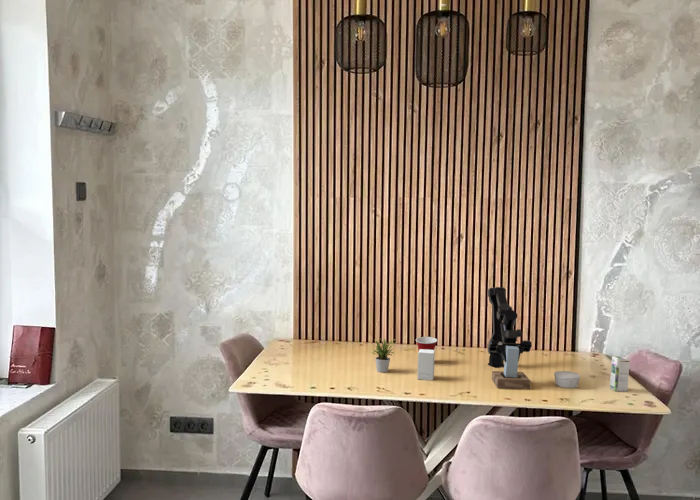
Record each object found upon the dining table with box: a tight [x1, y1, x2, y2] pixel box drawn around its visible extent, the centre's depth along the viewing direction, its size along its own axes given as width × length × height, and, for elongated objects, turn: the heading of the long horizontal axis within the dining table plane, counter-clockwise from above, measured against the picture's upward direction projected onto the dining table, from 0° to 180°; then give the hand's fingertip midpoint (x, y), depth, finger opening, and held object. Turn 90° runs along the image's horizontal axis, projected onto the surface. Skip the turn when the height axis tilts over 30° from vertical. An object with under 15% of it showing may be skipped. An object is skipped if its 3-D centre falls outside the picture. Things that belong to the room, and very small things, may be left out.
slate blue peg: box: [503, 346, 520, 378], centre depth 302 cm, size 5×5×13 cm
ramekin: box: [553, 370, 581, 389], centre depth 303 cm, size 11×11×5 cm
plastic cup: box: [415, 336, 438, 352], centre depth 338 cm, size 11×11×12 cm
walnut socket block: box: [491, 370, 531, 390], centre depth 303 cm, size 14×14×4 cm
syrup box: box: [609, 355, 630, 392], centre depth 297 cm, size 6×6×14 cm
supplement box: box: [416, 349, 436, 381], centre depth 310 cm, size 7×7×13 cm
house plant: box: [369, 337, 397, 373], centre depth 320 cm, size 14×14×16 cm
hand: (511, 362), depth 300 cm, fingers closed on slate blue peg, 5 cm apart
